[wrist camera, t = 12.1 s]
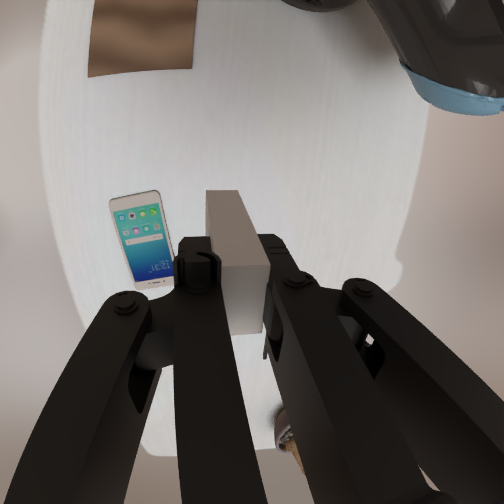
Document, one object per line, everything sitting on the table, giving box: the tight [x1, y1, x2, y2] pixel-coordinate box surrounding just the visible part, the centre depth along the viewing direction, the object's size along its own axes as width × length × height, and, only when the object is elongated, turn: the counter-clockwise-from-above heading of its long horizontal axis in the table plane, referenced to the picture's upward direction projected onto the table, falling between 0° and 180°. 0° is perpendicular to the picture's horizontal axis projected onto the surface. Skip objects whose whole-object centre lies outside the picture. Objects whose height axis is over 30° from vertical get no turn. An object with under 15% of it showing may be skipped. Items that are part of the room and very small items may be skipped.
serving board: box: [88, 0, 197, 77], centre depth 25 cm, size 16×13×1 cm
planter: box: [274, 408, 306, 476], centre depth 64 cm, size 15×17×20 cm
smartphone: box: [109, 190, 175, 290], centre depth 41 cm, size 7×1×15 cm
